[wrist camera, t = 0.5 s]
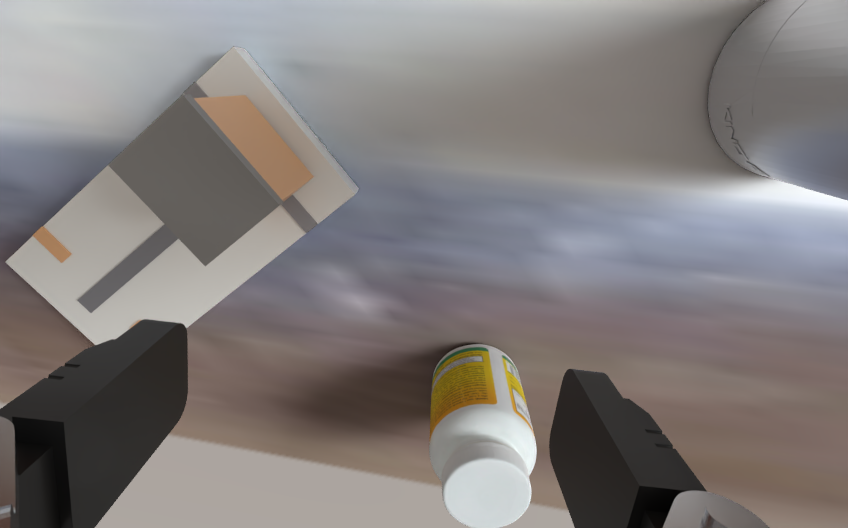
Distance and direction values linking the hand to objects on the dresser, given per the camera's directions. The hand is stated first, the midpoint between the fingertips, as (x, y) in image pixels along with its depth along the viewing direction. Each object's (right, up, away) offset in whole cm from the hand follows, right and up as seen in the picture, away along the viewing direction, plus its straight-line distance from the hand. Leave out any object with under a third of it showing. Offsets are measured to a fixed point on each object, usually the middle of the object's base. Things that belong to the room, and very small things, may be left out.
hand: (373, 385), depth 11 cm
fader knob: (-8, +8, +15) cm, 19 cm away
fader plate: (-12, +5, +18) cm, 22 cm away
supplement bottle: (+4, -5, +21) cm, 22 cm away
